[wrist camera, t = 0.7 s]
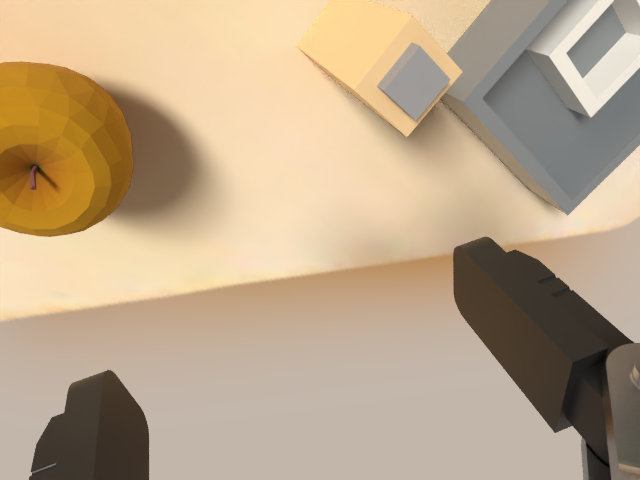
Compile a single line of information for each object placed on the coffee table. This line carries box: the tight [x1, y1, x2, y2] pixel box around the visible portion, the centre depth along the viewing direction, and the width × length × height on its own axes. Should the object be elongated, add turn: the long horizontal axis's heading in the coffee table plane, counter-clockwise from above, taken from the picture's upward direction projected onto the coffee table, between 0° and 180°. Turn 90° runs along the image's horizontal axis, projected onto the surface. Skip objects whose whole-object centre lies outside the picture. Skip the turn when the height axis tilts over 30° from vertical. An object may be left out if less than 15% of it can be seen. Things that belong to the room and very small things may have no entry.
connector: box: [297, 0, 462, 137], centre depth 25 cm, size 4×4×11 cm
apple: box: [0, 62, 133, 237], centre depth 23 cm, size 8×8×9 cm
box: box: [441, 0, 640, 215], centre depth 33 cm, size 20×16×5 cm
